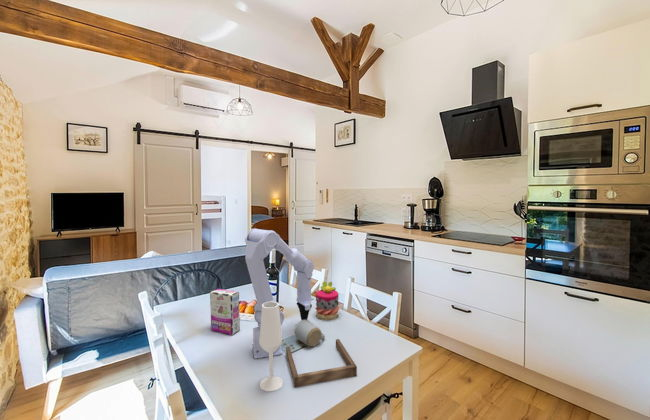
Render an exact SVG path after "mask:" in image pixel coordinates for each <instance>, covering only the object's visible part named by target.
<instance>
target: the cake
mask: <svg viewBox="0 0 650 420" xmlns="http://www.w3.org/2000/svg"><path fill="white" fill-rule="evenodd" d="M336 289H337V288H336V287H335V286H334V287H333V282H332V281H329V282H328V283H327V281H323V282H322V284H321V286H320V289H319V290H317V291H316V292H315V301H316V303H315V310H316V315H315V316H316V318H317V319H318V320H321V321H333V320H334V321H335V320H336V319H338V317H339V313H338V312H339V310H340V306H339V292H338V291H337V290H336Z"/></svg>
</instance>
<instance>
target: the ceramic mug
mask: <svg viewBox="0 0 650 420" xmlns="http://www.w3.org/2000/svg"><path fill="white" fill-rule="evenodd" d="M294 336H295V338H296V339H297V340H299V341H300V342H302V343H303V344H305V346H307V347H308V346H309V347H311V348H312V347H315V346H317V345H318V344H320V341H324V339H325V337H326V336H325V334H324V333H323V332H322V331H321V329H320V327H318V326H317V325H315V324H314V323H313V322H311V321H310V320H308V319H307V320H306V319H305V320H300V321H299V322H298V323H297V324H296V326H295V329H294Z"/></svg>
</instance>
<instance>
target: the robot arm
mask: <svg viewBox="0 0 650 420" xmlns="http://www.w3.org/2000/svg"><path fill="white" fill-rule="evenodd" d="M244 242H245V246H246V247H245V248H246V249H245V264H246V267H247V270H248V274H249V277H250V281H251V284H252V288H253V291H254V296H255V299H256V304H255V305H254V306H253V309H254V316H253V317H254V320H255V322H256V323H257V326H256V327H253V329H252V336H253V337H252V339H253V343H252V345H251V346H252V350H253V359H260V358H267V357H268V358H269V353H268V352H266V351H265V350H263V349H262V347H261V346H260V344H259V339H260V326H261V314H262V304H264V303H266V302H276V301H275V300H274V297H273V293H272V289H271V286H270V282H269V277H268V274H267V270H266V266H265V262H264V259H265V258H267V257H268V256H269V255H270V253H271V252H272V251H273V249H276V250H277V251H278V252H279V253H281V254H282V255H284V260H285V261H286V262H287V263H289V264H290V265H291V266H292V267H293V270H294V271H295V272H296V305H297V308H298V312H299V316H300V321H302V320H305V319H306V320H308V317H309V314H310V311H311V309H312V304H311V303H312V301H314V300H315V297H314V296H312V276H313V272H314V269H315V265H314V261H312V260H311V259H309V258H307V257H306V255H305V254H302V253H301V252H300V249H299V248H293V247H292V248H291V247H290V246H289V245H288V244H287V243H286V242H285V241H284V240H283V239H282V238H281V236H280V234H278V233H277V232H276V231H274V230H270V229H269V230H268V229H259V228H251V229H250V230H249V231H248V232H247V234H246V236H245V237H244ZM276 250H275V251H276ZM279 313H280V322H281V326H282V325H283V323H284V321H285V314H284V312H283V311H282V310H281V307H280V306H279ZM282 353H283V351H282V347H281V346H280V347H279V348H278V349H277V350H276V351H275V352H273V357H274V356H282V355H283V354H282Z"/></svg>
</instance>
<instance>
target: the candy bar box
mask: <svg viewBox="0 0 650 420" xmlns="http://www.w3.org/2000/svg"><path fill="white" fill-rule="evenodd" d="M209 294H210V295H209V296H210V299H209V300H210V305H209V306H210V331H211V332H215V333H219V334H225V335H228V336H234V335H235V334H237V333H238V332H240V330H241V327H240V326H241V324H240V322H241V321H240V320H241V319H240V291H236V290H229V289H222V288H216V289H214V290H212V291H210V293H209Z"/></svg>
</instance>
